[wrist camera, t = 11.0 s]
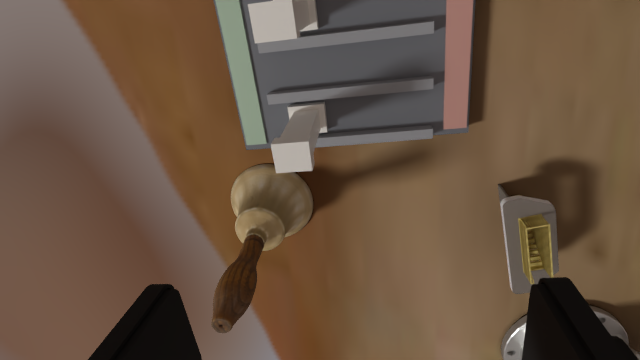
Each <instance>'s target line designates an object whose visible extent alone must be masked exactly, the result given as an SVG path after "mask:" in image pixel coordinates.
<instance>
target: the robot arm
mask: <svg viewBox="0 0 640 360" xmlns="http://www.w3.org/2000/svg"><path fill="white" fill-rule="evenodd" d="M501 354H502V358H503V360H640V352H636V351H635V350H634V349H631V348H630V346H629V340H628V335H627V333H626V331H625V329H624V328H623V326H622V325H621V324H620V323H619V321H618V320H617V319H616V318H615V317H614V316H612V315H611V314H610V313H609V312H606V311H604V310H602V309H600V308H597V307H594V306H590V305H588V303H587V302H586V301H585V299H584V298H583V296H582V295H581V294H580V292H579V291H578V290H577V288H576V287H575V285H574V284H573V283H572V281H571V280H570V279H569V278H566V277H563V278H540V280H539V282H538V284H532V286H531V290H530V298H529V305H528V313H527V315H526V316H524V317H522V318H521V319H519V320H518V321H517V322H516V323H515V324H514V325H512V326H511V328H510V329H509V330H508V331H507V333H506V334H505V336H504V338H503V340H502V345H501ZM88 360H202V359H201V354H200V352H199V349H198V346H197V343H196V340H195V337H194V334H193V331H192V328H191V325H190V323H189V320H188V317H187V314H186V311H185V308H184V305H183V302H182V299H181V296H180V294H179V291H178V290H176V289H174V287H173V286H172V285H170V284H152V285H149V286H148V287H146V289H145V290H144V291H143V292H142V293H141V295H140V296H139V297H138V298H137V300H136V301H135V302H134V304H133V305H132V306H131V307H130V308H129V309H128V311H127V312H126V313H125V314H124V316H123V317H122V318H121V319H120V321H119V322H118V323H117V324H116V326H115V327H114V328H113V329H112V331H111V332H110V333H109V334H108V336H107V337H106V338H105V339H104V340H103V342H102V343H101V344H100V345H99V347H98V348H97V349H96V350H95V352H94V353H93V354H92V355H91V357H90V358H89V359H88Z"/></svg>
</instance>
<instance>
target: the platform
mask: <svg viewBox="0 0 640 360" xmlns="http://www.w3.org/2000/svg"><path fill="white" fill-rule="evenodd" d="M498 190H499V198H500V207H501V215H502V223H503V232H504V240H505V248H506V255H507V263H508V271H509V280H510V287H511V289H512V291H513V293H515V294H522V293H529V292H530V290H531V286H532V284H538V282H539V280H540V278H553V275H555V274H556V273H557V272H558V271H559V264H558V244H557V225H556V210H555V208H554V206H553V205H552V204H551V203H550V202H549V201H547V200H542V199H537V198H531V197H525V196H522V195H521V194H520V195H515V196H510V197H509V196H508V194H507V193H506V192H505V190H504V189H503V188H502V186H501V185H500V184H498ZM527 219H528V220H529V221H528V220H527ZM526 221H527V222H526ZM529 225H530V226H531V227H529ZM525 227H526V228H525ZM531 231H532V232H531ZM529 232H531V233H529ZM533 236H534V238H532V237H533ZM528 238H529V239H528ZM535 242H536V243H535ZM533 243H535V244H533ZM528 244H530V245H528ZM537 248H538V249H537ZM531 249H533V250H531ZM538 253H539V254H540V255H537V254H538ZM531 255H535V256H531ZM540 259H541V260H542V261H539V260H540ZM531 261H536V262H531Z"/></svg>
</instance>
